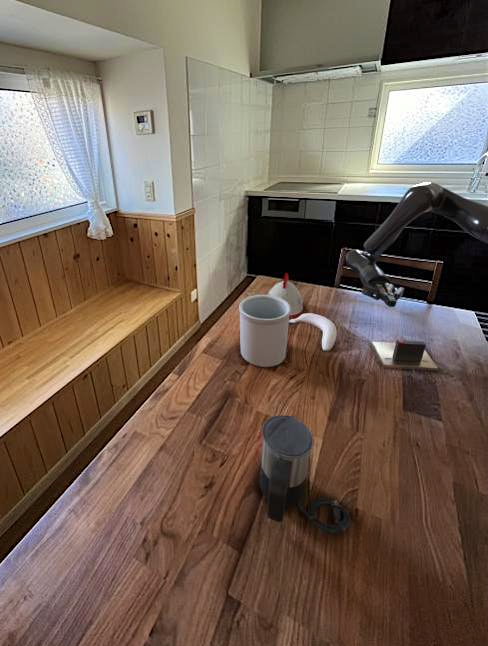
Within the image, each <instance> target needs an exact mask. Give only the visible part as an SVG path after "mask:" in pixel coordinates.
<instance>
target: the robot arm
mask: <svg viewBox="0 0 488 646" xmlns="http://www.w3.org/2000/svg"><path fill="white" fill-rule="evenodd" d="M427 212H431V213H434V214H437V215H440V216H443V217H445V218H447V219H449V220H451V221H453V222H454V223H456V225H458V226H459V227H460V228H461V229H462V230H464V231H465V232H466V233H468V234H469V235H470V236H472V237H474V238H475V239H477V240H480V241H482V242H484V243H486V244H488V205H486V204H483V203H482V202H481V203H480V202H477V201H475V200H471V199H468V198H466V197H463V196H461V195H459V194H457V193H455V192H454V191H451V190H449V189H448V188H446V187H444V186H442V185H440V184H438V183H435V182H430V181H429V182H428V181H427V182H422V183H419V184H416V185H413V186H412V187H410V188H409V189H408V190H407V191H406V192H405V193H404V194H403V196H402V197H401V199H400V201H399V202H398V204H397V205H396V207H394V209H393V211H392V212H391V214H389V216H388V217H387V218H386V220H384V222H383V223H382V224H381V225H380V226H379V227H378V228H377V229H376V230H375V231H374V232H373V233H372V234H371V235H370V236H369V237H368V238H367V239H366V241H365V242H364V243H363V249H364V250H365V251H366V252H367V253H366V252H364V251H361V250H359V249H352V250H350V251H348V252H347V254H346V256H345V264H346V266H347V267H348V268H349V269H350V270H352V271H353V272H354V273H355V274H357V275H358V277H359V278H360V281H361V283H362V285H363V286H362V290H361V294H362V295H364V296H367V297H369V298H370V299H373V300H375V301H380V300H381V302H384V304H385V305H386V306H388V307H389V308H395V307H396V306H397V303H398V301H399V299H400V298H402V297H403V296H404V295H403V294H404V291H405V288H404V287H395V285H394V284H392V282H391V280H390V278H389V277H388V276H387V275H386V274H385V272H384V271H383V270H382V269H381V268H380V267H379V266H378V265H377V263H378V261H379V258H380V257H381V255H382V254H383V253H384V252H385V251H386V250H388V248H389V247H390V246H391V245H392V244H394V242H395V241H396V239H398V237H399V235H400V234H401V233H402V231H403V230H404V229H405V228H406V227H407V226H408V225H409V224H410V223H411V222H412V221H414V220H415V219H416V218H418V217H419V216H421V215H423V214H424V213H427Z"/></svg>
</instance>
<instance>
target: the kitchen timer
mask: <svg viewBox="0 0 488 646" xmlns="http://www.w3.org/2000/svg"><path fill="white" fill-rule="evenodd" d="M289 277H290V276H289V273H287V272H286V273H285V274H284V277H283V280H282V281H279V282H278V283H276V284H275V285H274V286H272V288H270V289H269V290H268V292H267V294H266V295H272V296H276V297H279V298H281V299H283V300H285V301H286V302H287V303H288V304H289V305H290V315H289V320H291V319H296V318H298V317H299V316H300V315H302V314H303V311H304V308H303V307H304V302H303V300H304V299H303V293H302V292H300V291H299V289H298V288H297V286H296V285H295V284H294V283H292V282H290V281H289Z"/></svg>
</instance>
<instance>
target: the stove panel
mask: <svg viewBox="0 0 488 646" xmlns="http://www.w3.org/2000/svg"><path fill="white" fill-rule="evenodd" d="M370 345H371V347H372V349H373V351H374V353H375V355H376V357H377V358H378V360H379V362H380V364H381V366H382V368H384V369H385V368H386V369H400V370H412V372H413V373H416V371H429V372H438V371H439V367H438V365H436V363H435V361H434V360H433V359H432V358H431V356H430V355H429V354H428V352H427V351H426V349H425V350H424V353H423V357H422V360H421V362H416V361H400V360H394V358H393V353H394V349H395V345H396V342H387V341H371V343H370Z"/></svg>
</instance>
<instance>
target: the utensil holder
mask: <svg viewBox="0 0 488 646" xmlns="http://www.w3.org/2000/svg"><path fill="white" fill-rule="evenodd" d="M238 312H239V337H240V338H239V340H240V341H239V344H240V354H241V356H242V358H243V359H244V360H245V361H246V362H247V363H250V364H251V365H254V366H257V367H262V368H263V367H264V368H269V367H270V368H271V367H276V366H278V365H279V364H281V363H282V362H284V360H285V359H286V353H287V345H288V334H289V323H290V322H289V320H290V319H289V315H290V305H289V304H288V303H287V302H286V301H285V300H283V299H281V298H279V297H276V296H272V295H267V294H256V295H251V296H247V297H245V298H244V299H243V300H241V301H240V303H239V305H238Z"/></svg>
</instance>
